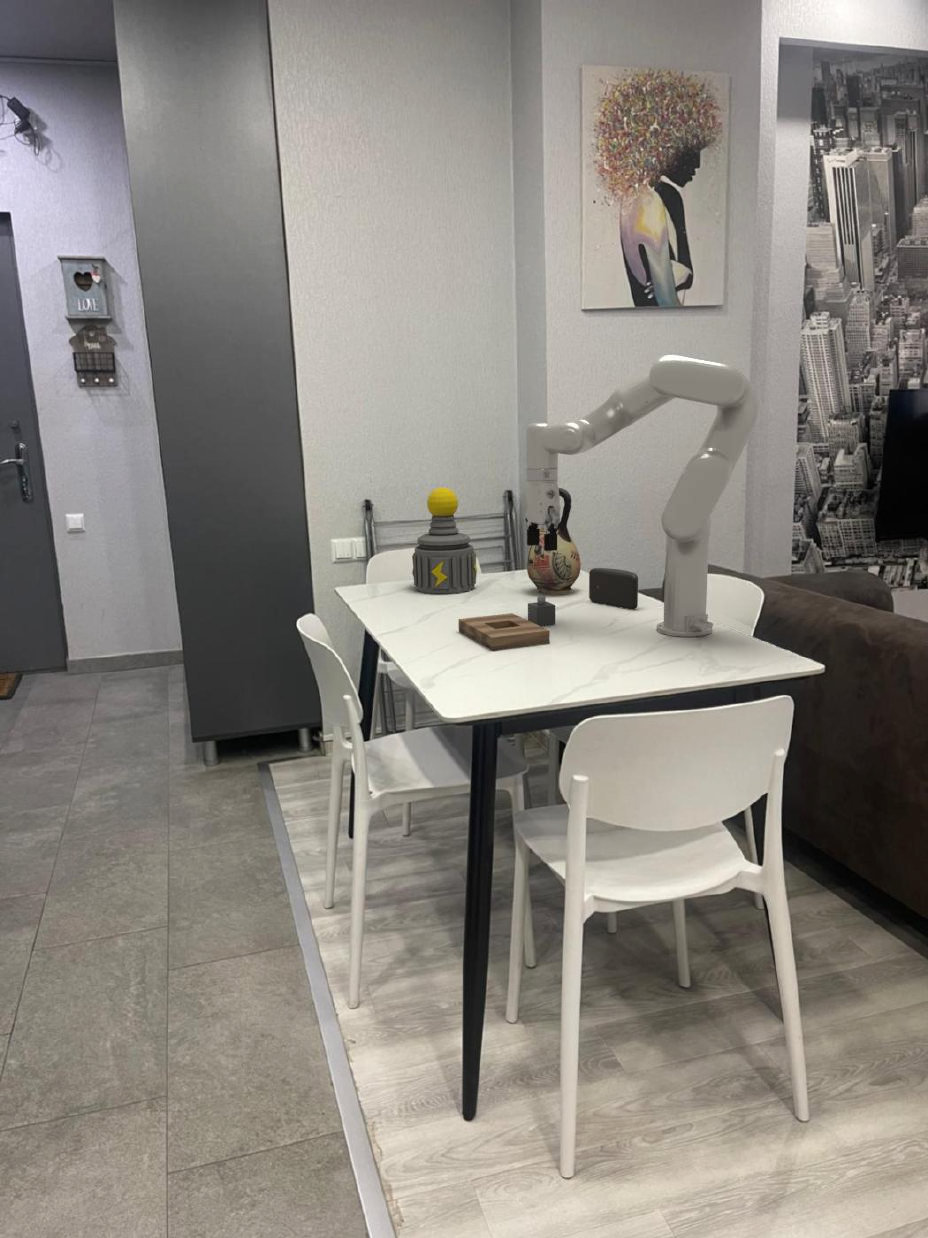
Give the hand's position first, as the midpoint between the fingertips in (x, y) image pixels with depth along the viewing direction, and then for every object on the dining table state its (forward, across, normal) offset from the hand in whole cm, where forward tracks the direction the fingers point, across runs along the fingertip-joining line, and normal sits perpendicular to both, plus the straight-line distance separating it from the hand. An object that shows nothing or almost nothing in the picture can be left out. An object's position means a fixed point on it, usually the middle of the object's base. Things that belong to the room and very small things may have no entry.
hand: (541, 547), depth 215 cm
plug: (+19, -1, 0) cm, 19 cm away
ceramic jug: (+19, +33, -20) cm, 43 cm away
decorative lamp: (+19, +53, +7) cm, 57 cm away
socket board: (+19, -9, +14) cm, 25 cm away
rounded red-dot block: (+19, +10, -25) cm, 33 cm away
